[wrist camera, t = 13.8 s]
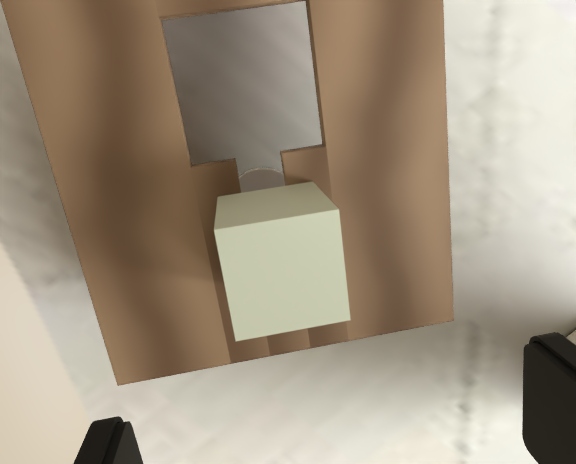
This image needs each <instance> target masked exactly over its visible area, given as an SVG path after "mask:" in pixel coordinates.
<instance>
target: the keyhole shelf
mask: <svg viewBox="0 0 576 464" xmlns="http://www.w3.org/2000/svg"><path fill="white" fill-rule="evenodd" d="M0 1H1V4H2V7H3V10H4V14H5V17H6V20H7V24H8V27H9V30H10V33H11V37H12V40H13V43H14V47H15V50H16V53H17V56H18V60H19V63H20V66H21V70H22V73H23V76H24V79H25V83H26V86H27V89H28V93H29V96H30V99H31V102H32V106H33V109H34V112H35V116H36V119H37V122H38V125H39V129H40V132H41V135H42V139H43V142H44V145H45V148H46V152H47V155H48V158H49V162H50V165H51V168H52V171H53V175H54V178H55V181H56V185H57V188H58V191H59V194H60V198H61V201H62V204H63V208H64V211H65V214H66V217H67V221H68V224H69V227H70V231H71V234H72V237H73V240H74V244H75V247H76V250H77V254H78V257H79V260H80V263H81V267H82V270H83V273H84V277H85V280H86V283H87V286H88V290H89V293H90V296H91V300H92V303H93V306H94V309H95V313H96V316H97V319H98V323H99V326H100V329H101V332H102V336H103V339H104V342H105V346H106V349H107V352H108V355H109V359H110V362H111V365H112V369H113V372H114V375H115V378H116V382H117V385H118V386H119V385H124V384H129V383H134V382H140V381H145V380H150V379H155V378H160V377H165V376H171V375H176V374H181V373H186V372H191V371H196V370H201V369H207V368H212V367H217V366H222V365H227V364H232V363H237V362H243V361H248V360H253V359H258V358H263V357H268V356H274V355H279V354H284V353H289V352H294V351H299V350H304V349H310V348H315V347H320V346H325V345H330V344H335V343H340V342H346V341H351V340H356V339H361V338H366V337H371V336H376V335H382V334H387V333H392V332H397V331H402V330H407V329H413V328H418V327H423V326H428V325H433V324H438V323H443V322H449V321H454V317H453V287H452V256H451V226H450V195H449V165H448V134H447V104H446V74H445V43H444V13H443V0H0ZM300 1H306V8H307V17H308V25H309V34H310V42H311V51H312V60H313V68H314V77H315V85H316V94H317V102H318V111H319V119H320V128H321V136H322V145H316V146H309V147H303V148H297V149H291V150H284V151H280V154H281V161H282V168H283V174H284V181H285V186H287V185H294V184H300V183H306V182H312V181H313V182H314V183H315V184H316V185H317V187H318V188H319V189H320V190H321V191H322V192H323V193H324V194H325V195H326V196H327V197H328V198H329V199H330V200H331V201H332V202H333V203H334V205H335V206H336V207H337V208H338V209H339V214H340V224H341V233H342V243H343V252H344V262H345V271H346V281H347V290H348V300H349V310H350V319H351V320H349V321H343V322H338V323H333V324H327V325H322V326H317V327H311V328H306V329H300V330H295V331H290V332H284V333H279V334H273V335H268V336H263V337H257V338H252V339H246V340H241V341H236V340H235V335H234V330H233V325H232V320H231V315H230V310H229V305H228V299H227V294H226V289H225V284H224V279H223V274H222V269H221V264H220V259H219V254H218V248H217V243H216V238H215V233H214V225H215V216H216V207H217V198H218V197H219V196H225V195H231V194H237V193H241V188H240V182H239V176H238V171H237V165H236V160H235V158H234V159H228V160H222V161H216V162H209V163H203V164H197V165H192V164H191V160H190V155H189V150H188V145H187V140H186V136H185V131H184V126H183V121H182V116H181V112H180V107H179V102H178V97H177V92H176V88H175V83H174V78H173V73H172V68H171V64H170V59H169V54H168V49H167V44H166V39H165V35H164V30H163V25H162V20H167V19H174V18H181V17H189V16H196V15H204V14H211V13H218V12H226V11H233V10H240V9H248V8H255V7H263V6H270V5H277V4H285V3H292V2H300Z"/></svg>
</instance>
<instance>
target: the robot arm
mask: <svg viewBox="0 0 576 464" xmlns="http://www.w3.org/2000/svg"><path fill="white" fill-rule="evenodd" d="M522 435H523V441H524V443H525V446H526V448H527V450H528V451H529V453H530V454H531V455H532V456H533V457H534V459H535V460H536V461H537V462H538V464H576V330H575V331H574V332H572V333H571V334H570V335H569V336H567V337H566V338H565V337H564V336H563V335H561V334H559V333H555V332H554V333H549V334H544V335H539V336H533V337H532V338H531V339H530V341H529V344H527V345H525V347H524V364H523V430H522ZM74 464H143V461H142V458H141V454H140V451H139V448H138V444H137V441H136V438H135V434H134V431H133V428H132V425H131V423H130V422H129V421H128V422H123V420H122V418H121V417H119V416H118V417H113V418H108V419H102V420H97V421H94V422H92V424H91V425H90V427H89V430H88V432H87V434H86V436H85V439H84V441H83V443H82V446H81V448H80V450H79V452H78V455H77V457H76V459H75V461H74Z"/></svg>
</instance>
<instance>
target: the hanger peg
mask: <svg viewBox="0 0 576 464" xmlns="http://www.w3.org/2000/svg"><path fill="white" fill-rule="evenodd" d="M239 182H240V188H241V193H237V194H231V195H225V196H219V197H218V198H217V207H216V216H215V225H214V233H215V238H216V243H217V248H218V254H219V259H220V264H221V269H222V274H223V279H224V284H225V289H226V294H227V299H228V305H229V310H230V315H231V320H232V325H233V330H234V335H235V340H236V341H241V340H246V339H252V338H257V337H263V336H268V335H273V334H279V333H284V332H290V331H295V330H300V329H306V328H311V327H317V326H322V325H327V324H333V323H338V322H343V321H349V320H351V319H350V310H349V300H348V290H347V281H346V271H345V262H344V252H343V243H342V233H341V224H340V214H339V209H338V208H337V207H336V206H335V205H334V203H333V202H332V201H331V200H330V199H329V198H328V197H327V196H326V195H325V194H324V193H323V192H322V191H321V190H320V189H319V188H318V187H317V185H316V184H315V183H314V182H313V181H312V182H306V183H300V184H294V185H287V186H285V181H284V174H283V173H282V172H280V171H278V170H275V169H272V168H263V167H262V168H255V169H251V170H249V171H247V172H245V173H243V174H242V175H240V176H239Z"/></svg>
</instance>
